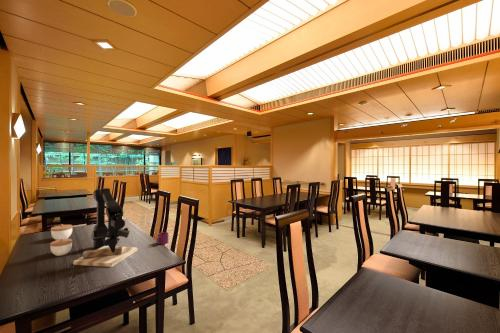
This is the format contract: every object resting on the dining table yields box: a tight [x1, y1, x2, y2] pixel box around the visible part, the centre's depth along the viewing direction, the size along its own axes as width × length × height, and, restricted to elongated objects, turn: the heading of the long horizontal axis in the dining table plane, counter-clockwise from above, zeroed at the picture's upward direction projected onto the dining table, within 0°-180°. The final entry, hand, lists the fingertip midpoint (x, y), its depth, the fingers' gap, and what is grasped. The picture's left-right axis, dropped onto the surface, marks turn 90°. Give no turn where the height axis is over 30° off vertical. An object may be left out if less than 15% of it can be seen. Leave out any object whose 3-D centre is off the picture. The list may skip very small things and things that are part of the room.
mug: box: [156, 231, 169, 245], centre depth 162 cm, size 7×10×7 cm
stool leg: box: [82, 246, 123, 258], centre depth 136 cm, size 20×3×3 cm, turn 113°
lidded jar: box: [49, 238, 73, 257], centre depth 143 cm, size 11×11×9 cm
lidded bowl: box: [50, 223, 73, 241], centre depth 170 cm, size 13×13×11 cm
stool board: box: [73, 245, 139, 268], centre depth 139 cm, size 23×24×2 cm
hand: (113, 252), depth 136 cm, fingers closed
